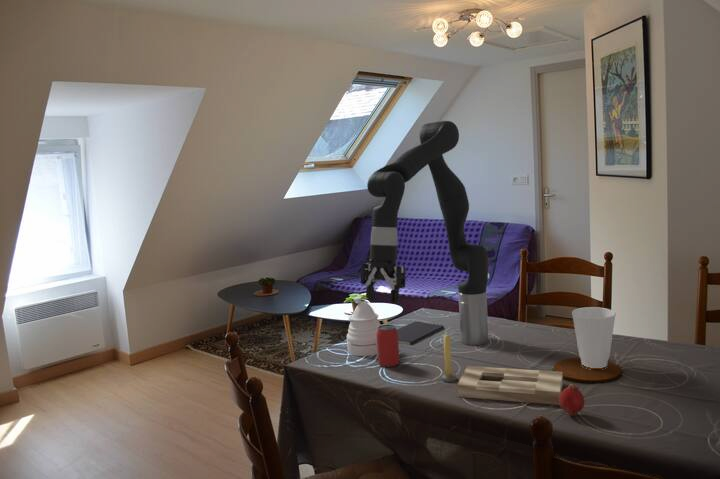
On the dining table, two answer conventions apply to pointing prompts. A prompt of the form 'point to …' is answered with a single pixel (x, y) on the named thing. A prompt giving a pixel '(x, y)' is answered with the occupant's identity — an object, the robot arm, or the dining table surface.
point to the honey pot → (363, 330)
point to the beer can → (387, 346)
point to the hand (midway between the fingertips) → (381, 301)
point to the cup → (594, 335)
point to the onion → (571, 400)
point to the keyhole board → (511, 385)
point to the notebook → (416, 332)
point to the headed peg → (447, 361)
